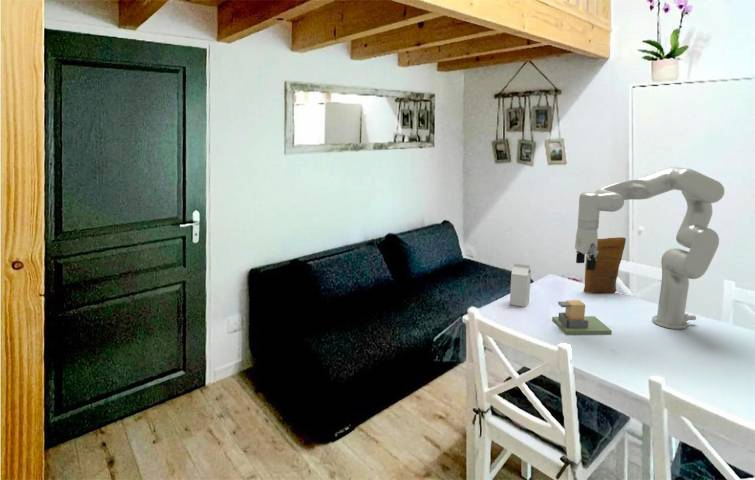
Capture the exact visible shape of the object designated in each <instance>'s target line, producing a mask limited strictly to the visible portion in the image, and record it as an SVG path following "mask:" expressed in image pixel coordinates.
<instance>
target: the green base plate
mask: <svg viewBox="0 0 755 480" xmlns="http://www.w3.org/2000/svg"><path fill="white" fill-rule="evenodd" d="M551 320H552V322H553V323H555V325H556V326H557V327H558V328H559V329H560V330H561V331H562V332H563V334H564V335H567V336H575V335H612V334H613V333H612V332H613V331H612V330H611V328H610V327H608V326H607V325H606V324H605V323H604V322H602V321H601V320H600V319H599V318H597V317H596V316H595V315H592V316H591V315H590V316H588V315H587V316H586V315H584V320H568V319H567V318H566V317H565V312H558V316H552V317H551Z"/></svg>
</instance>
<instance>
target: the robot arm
mask: <svg viewBox="0 0 755 480" xmlns="http://www.w3.org/2000/svg"><path fill="white" fill-rule="evenodd" d="M673 190H674V191H675V190H676V191H680V192H681V194H682V196H683V198H684V199H685V201H686V207H687V208H686V211H685V216H684V217H683V220H682V222H681V224H680V227H679V228H678V231H677V233H676V236H675V239H676V240H675V241H676V242H677V244H679V245H680V246H683V247H684V248H688V249H689V251H688V250H685V249H681V248H677V247H673V248H670V249H667V250H666V251H665V252H664V253H663V254H662V257H661V281H660V282H661V283H660V289H659V290H660V292H659V299H658V306H657V315H655V316H652V319H651V320H652V322H653V323H654V324H656V326H660V327H663V328H666V329H673V330H682V329H683V330H684V329H686V328H688V326H689V323H688V321H696V320H697V316H696V315H689V314H688V313H686V308H687V307H686V306H687V301H688V300H687V299H688V293H689V287H690V280H697V279H699V278H700V279H701V277H703V276H704V275H705V273H706V272H707V270H708V268H709V267H710V266H711V265H710V264H711V263H712V260H713V258H714V256H715V254H716V253H717V250H718V248H719V245H720V244H719V243H720V238H719V235H718V233H717V232H716V231H715V230H714V229H712V228H709V227H708V226H709V224H710V222H711V219H712V217H713V205H712V204H714V203H718V202H719V201H721V200H722V198H723V197H724V195H725V187H724V185H723V184H722V183H721V182H720V181H719V180H716V179H714V178H713V177H709V176H708V175H705V174H703V173H701V172H699V171H697V170H695V169H692V168H688V167H678V166H673V167H672V166H671V167H667V168H665V169H662V170H659V171H657V172H653V173H651V174H647V175H645V176H643V177H642V176H641V177H638V178H634V179H629V180H626V181H621V182H617V183H613V184H610V185H607V186H604V187H602V188H599V189H597V190H596V191H594V192H591V191H587V192H586V191H585V192H581V193H580V194H579V199H578V214H577V229H576V233H575V241H574V242H575V244H574V249H575V250H576V251H575V253H576V258H575V259H576V260H575V261H576V262H575V263H576V264H584V263H585V262H586V255H587V256H588V260H587V270H595V267H596V260H597V255H598V250H597V244H598V239H599V237H598V229H599V224H600V212H610V213H614V212H617V211H618V212H619V211H620V210H621V209H622V208H623V206H624V205H625V201H627V200H637V201H638V200H648V199H651V198H653V197H656V196H659V195H662V194H665V193H667V192H670V191H673ZM590 255H591V257H590ZM689 279H690V280H689Z"/></svg>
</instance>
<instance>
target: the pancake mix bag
mask: <svg viewBox="0 0 755 480" xmlns="http://www.w3.org/2000/svg"><path fill="white" fill-rule="evenodd" d="M626 241H627V238H626V237H607V238H598V244H597V250H598V255H597V260H596V267H595V270H587V260H588V256H587V254H585V264H584V267H585V268H584V287H583V292H584V293H589V294H614V293H616V292H617V279H618V276H619V270H620V265H621V261H622V259H623V254H624V249H625V248H626V247H625V246H626ZM590 257H591V255H590Z"/></svg>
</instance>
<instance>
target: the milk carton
mask: <svg viewBox="0 0 755 480" xmlns="http://www.w3.org/2000/svg"><path fill="white" fill-rule="evenodd" d="M531 276H532V270H531V267H530V265H529V264H522V263H513V267H512V271H511V276H510V290H509V291H510V293H509V305H511V306H517V307H523V308H525V307H526V306H527V305H528V304H529V303H530V291H531V279H532V277H531Z"/></svg>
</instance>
